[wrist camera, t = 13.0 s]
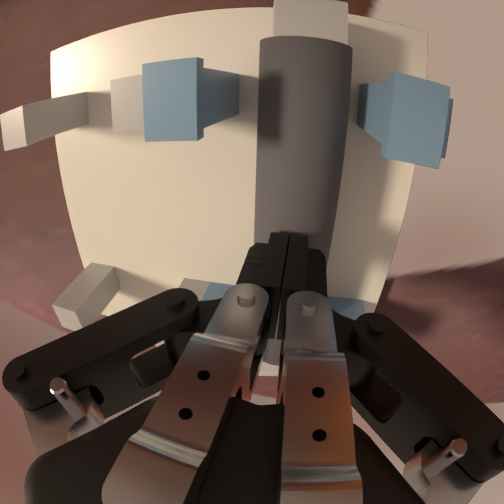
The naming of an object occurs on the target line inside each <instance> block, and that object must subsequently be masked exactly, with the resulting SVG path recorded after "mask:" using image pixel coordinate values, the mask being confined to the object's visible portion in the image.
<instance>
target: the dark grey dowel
mask: <svg viewBox="0 0 504 504" xmlns="http://www.w3.org/2000/svg"><path fill="white" fill-rule="evenodd" d="M352 54H353V48H352V47H350V46H349V45H348V3H347V2H341V1H336V0H274V5H273V23H272V37H268V38H264V39H261V40H260V51H259V86H258V120H257V154H256V188H255V220H254V244H255V243H257V242H258V243H267V244H268V241H269V238H270V234H271V232H278V233H287V234H289V241H290V234H296V235H305V236H308V248H312V249H320V250H321V251H322V253H323V254H324V256H325V257H326V268H327V263H328V258H329V253H330V247H331V242H332V236H333V230H334V224H335V218H336V212H337V205H338V199H339V192H340V185H341V177H342V170H343V162H344V154H345V145H346V136H347V126H348V115H349V103H350V90H351V74H352ZM289 241H288V248H289ZM287 255H288V251H287ZM286 261H287V260H286ZM280 305H281V303H280ZM279 313H280V309H279ZM278 322H279V315H278V321H277V327H276V333H275V339H269V338H268V343H267V347H266V350H265V351H264V358H263V361H262V364H261V367H260V371H259V374H258V376H278V366H279V355H280V348H281V341H282V340H277V339H276V338H277V330H278Z"/></svg>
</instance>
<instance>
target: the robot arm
mask: <svg viewBox="0 0 504 504" xmlns="http://www.w3.org/2000/svg"><path fill="white" fill-rule="evenodd" d="M288 241H289V234H287V233H278V232H271V234H270V238H269V241H268V244H267V243H258V242H257V243H255V244H254V245H253V246H251V247H250V248H249V250H248V253H247V256H246V258H245V261H244V264H243V266H242V269H241V272H240V274H239V277H238V280H237V283H236V285H234V286H232V287H230V288H229V289H228V290H227V291H226V292H225V294H224V296H223V298H220V299H216V300H205V301H198V297H197V295H196V294H195V293H194V292H193V291H191V290H188V289H185V288H172V289H169V290H166V291H164V292H161V293H159V294H157V295H155V296H153V297H150V298H148V299H146V300H144V301H141V302H139V303H137V304H135V305H132V306H130V307H128V308H126V309H124V310H121V311H119V312H117V313H115V314H112V315H110V316H108V317H106V318H103V319H101V320H99V321H97V322H95V323H92V324H90V325H88V326H86V327H83V328H81V329H79V330H77V331H74V332H72V333H70V334H68V335H66V336H63V337H61V338H59V339H57V340H54V341H52V342H50V343H48V344H46V345H43V346H41V347H39V348H37V349H34V350H32V351H30V352H28V353H26V354H23V355H21V356H19V357H16V358H15V359H13V360H12V361H10V362H9V364H8V365H7V366H6V367H5V369H4V372H3V376H2V382H3V385H4V387H5V389H6V390H7V391H8V392H9V393H10V394H11V395H12V397H13V398H14V399H15V400H16V401H17V402H18V404H19V405H20V406H21V407H22V409H23V411H24V415H25V418H26V422H27V425H28V429H29V432H30V435H31V438H32V441H33V445H34V448H35V451H36V454H37V456H38V458H37V459H36V460H35V461H34V462H33V463H32V464H31V466H30V467H29V469H28V471H27V474H26V477H25V484H24V490H25V504H468V503H469V502H470V500H471V499H472V498H473V496H474V495H475V494H476V493H477V491H478V490H479V489H480V487H481V486H482V484H483V483H484V482H486V481H487V480H489V479H491V478H492V477H494V476H496V475H497V474H499V473H501V472H502V471H504V423H503V422H502V421H501V420H500V419H499V418H498V417H497V416H496V415H495V414H494V413H493V412H492V411H491V410H490V409H489V408H488V407H487V406H486V405H485V404H484V403H483V402H481V401H480V400H479V399H478V398H477V397H476V396H475V395H474V394H473V393H472V392H471V391H470V390H469V389H468V388H467V387H466V386H465V385H463V384H462V383H461V382H460V381H459V380H458V379H457V378H456V377H455V376H454V375H453V374H452V373H450V372H449V371H448V370H447V369H446V368H445V367H444V366H443V365H442V364H441V363H439V362H438V361H437V360H436V359H435V358H434V357H433V356H432V355H431V354H429V353H428V352H427V351H426V350H425V349H424V348H423V347H422V346H420V345H419V344H418V343H417V342H416V341H415V340H414V339H412V338H411V337H410V336H409V335H408V334H407V333H406V332H404V331H403V330H402V329H401V328H400V327H399V326H398V325H396V324H395V323H394V322H393V321H392V320H391V319H389V318H388V317H386V316H384V315H382V314H378V313H365V314H362V315H360V316H359V317H358V318H357V319H356V320H353V319H350V318H348V317H345V316H342V315H340V314H339V313H337V312H336V311H334V310H333V309H332V307H331V303H330V302H329V300H328V299H327V274H326V257H325V256H324V254H323V253H322V251H321V250H320V249H312V248H308V236H305V235H296V234H290V241H289V248H288ZM287 251H288V255H287ZM286 260H287V261H286ZM280 303H281V305H280ZM279 309H280V313H279ZM278 315H279V322H278V330H277V338H276V339H277V340H282V341H281V348H280V355H279V366H278V382H277V397H276V404H273V405H256V404H253V403H250V400H251V396H252V393H253V390H254V386H255V383H256V380H257V377H258V374H259V371H260V367H261V364H262V361H263V358H264V351H265V350H266V347H267V343H268V338H269V339H275V333H276V327H277V321H278ZM163 340H164V344H162V345H160V346H158V347H156V348H154V349H152V350H150V351H148V352H146V353H144V354H142V355H140V356H138V357H136V358H134V359H132V360H131V358H132V357H133V356H134V355H135V354H137V353H139V352H141V351H143V350H145V349H147V348H149V347H151V346H153V345H155V344H157V343H159V342H161V341H163ZM379 373H380V374H381V375H382V376H383V377H384V378H385V379H386V380H387V381H388V382H389V383H390V384H391V385H392V386H393V387H394V388H395V389H396V390H397V391H396V390H395V389H394V388H393V387H392V386H391V385H390V384H389V383H388V382H387V381H386V380H385V379H384V378H383V377H382V376H381V375H380V374H379ZM160 390H162V391H161V393H160V395H159V396H157V397H154V398H152V399H149V400H147V401H145V402H143V403H141V404H140V405H138V406H136V407H134V408H132V409H131V410H129V411H127V412H126V413H123V414H122V415H120V416H118V417H116V418H114V419H112V420H110V421H109V422H107V423H105V424H104V420H105V419H106V418H108V417H110V416H112V415H114V414H116V413H118V412H120V411H122V410H124V409H126V408H128V407H130V406H132V405H134V404H136V403H138V402H140V401H142V400H143V399H145V398H147V397H149V396H151V395H153V394H155V393H157V392H159V391H160ZM351 405H352V406H353V408H354V409H355V410H356V411H357V412H358V413H359V414H360V415H361V417H362V418H363V419H364V420H365V421H366V422H367V423H368V424H369V426H370V427H371V428H372V429H373V430H374V431H375V432H376V433H377V434H378V435H379V437H380V438H381V439H382V440H383V441H384V442H385V443H386V444H387V445H388V446H389V447H390V449H391V450H392V451H393V452H394V453H395V454H396V455H397V456H398V457H399V458H400V460H401V461H403V463H404V464H405V467H404V471H403V476H402V475H401V474H400V473H399V472H398V470H397V469H396V468H395V467H394V466H393V464H392V463H391V462H390V461H389V460H388V458H387V457H386V456H385V455H384V454H383V453H382V451H381V450H380V449H379V448H378V447H377V445H376V444H375V443H374V442H373V440H372V439H371V438H370V437H369V436H368V435H367V434H366V433H365V432H364V431H363V430H362V429H361V428H359V427H358V426H357V425H355V424H353V418H352V408H351Z"/></svg>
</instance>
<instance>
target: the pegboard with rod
mask: <svg viewBox="0 0 504 504" xmlns="http://www.w3.org/2000/svg"><path fill="white" fill-rule="evenodd" d="M272 23H273V7H256V8H230V9H217V10H207V11H198V12H191V13H184V14H177V15H171V16H166V17H160V18H156V19H151V20H146V21H142V22H138V23H134V24H130V25H126V26H122V27H119V28H115V29H112V30H108V31H105V32H102V33H99V34H96V35H93V36H90V37H87V38H84V39H81V40H79V41H76V42H73V43H71V44H68V45H66V46H63V47H61V48H58V49H56V50H54V51H52V52H51V93H52V99H47V100H43V101H39V102H35V103H31V104H27V105H23V106H21V107H18V108H15V109H13V110H10V111H8V112H6V113H3V114H1V115H0V118H1V128H2V136H3V144H4V150H5V151H7V150H11V149H16V148H20V147H25V146H28V145H31V144H33V143H36V142H38V141H41V140H43V139H46V138H49V137H51V136H54V135H55V139H56V147H57V154H58V160H59V166H60V172H61V178H62V183H63V188H64V193H65V198H66V203H67V207H68V211H69V215H70V220H71V224H72V228H73V231H74V235H75V239H76V242H77V246H78V249H79V253H80V256H81V259H82V263H83V266H84V270H83V271H82V272H81V273H80V274H79V275H78V276H77V277H76V279H75V280H74V281H73V282H72V283H71V284H70V285H69V286H68V287H67V288H66V289H65V290H64V291H63V292H62V294H61V295H60V296H59V297H58V298H57V299H56V300H55V301H54V302H53V304H52V306H53V308H54V310H55V312H56V315H57V317H58V319H59V321H60V323H61V325H62V326H63V327H65V328H68V329H71V330H73V331H77V330H79V329H81V328H83V327H86V326H88V325H90V324H92V323H95V321H96V320H97V319H98V317H99V316H100V315H101V314H103V315H107V316H110V315H112V314H115V313H117V312H119V311H121V310H124V309H126V308H128V307H130V306H132V305H135V304H137V303H139V302H141V301H144V300H146V299H148V298H150V297H153V296H155V295H157V294H159V293H161V292H164V291H166V290H169V289H172V288H185V289H188V290H191V291H193V292H194V293H195V294H196V295H197V297H198V301H205V300H216V299H220V298H223V296H224V294H225V292H226V291H227V290H228V289H229V288H230V287H232V286H234V285H236V283H237V280H238V277H239V274H240V272H241V269H242V266H243V264H244V261H245V258H246V256H247V253H248V250H249V248H250V247H251V246H253V245H254V220H255V188H256V154H257V120H258V86H259V51H260V40H261V39H264V38H268V37H272ZM348 45H349V46H350V47H352V48H353V54H352V74H351V90H350V103H349V115H348V126H347V136H346V145H345V154H344V162H343V170H342V177H341V185H340V192H339V199H338V205H337V212H336V218H335V224H334V230H333V236H332V242H331V247H330V253H329V258H328V263H327V268H326V274H327V299H328V300H329V302H330V303H331V307H332V309H333V310H334V311H336V312H337V313H339V314H340V315H342V316H345V317H348V318H350V319H353V320H356V319H357V318H358V317H359V316H360V315H362V314H365V313H374V311H375V308H376V306H377V303H378V300H379V297H380V294H381V292H382V289H383V286H384V283H385V280H386V277H387V274H388V270H389V267H390V264H391V261H392V258H393V254H394V251H395V247H396V244H397V240H398V237H399V233H400V230H401V226H402V222H403V218H404V214H405V210H406V205H407V202H408V197H409V193H410V188H411V184H412V179H413V174H414V168H415V164H417V165H421V166H426V167H430V168H435V169H439V164H440V159H441V158H445V153H446V148H447V142H448V135H449V129H450V122H451V114H452V106H453V99H450V98H449V97H450V87H447V86H445V85H441V84H439V83H435V82H432V81H429V80H426V75H427V53H428V33H427V32H423V31H420V30H417V29H414V28H410V27H407V26H403V25H399V24H395V23H391V22H387V21H383V20H378V19H373V18H369V17H363V16H358V15H352V14H348ZM162 344H164V340H163V341H161V342H159V343H157V344H155V345H156V347H158V346H160V345H162Z"/></svg>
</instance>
